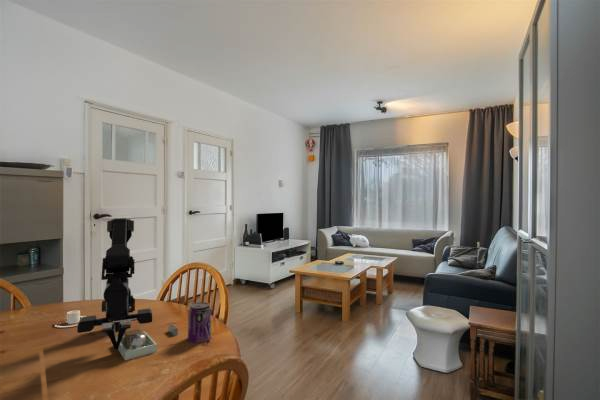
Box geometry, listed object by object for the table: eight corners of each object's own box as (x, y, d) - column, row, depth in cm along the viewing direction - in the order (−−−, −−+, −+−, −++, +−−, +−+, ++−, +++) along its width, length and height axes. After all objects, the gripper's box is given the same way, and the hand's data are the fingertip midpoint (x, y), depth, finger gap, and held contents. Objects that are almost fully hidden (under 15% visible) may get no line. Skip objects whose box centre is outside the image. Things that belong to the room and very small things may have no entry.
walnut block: (124, 344, 101) (124, 331, 101) (138, 340, 103) (138, 328, 104) (127, 348, 98) (127, 335, 98) (141, 344, 100) (141, 331, 100)
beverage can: (204, 347, 101) (204, 308, 102) (183, 345, 103) (184, 307, 103) (214, 338, 108) (214, 302, 109) (195, 336, 110) (195, 301, 110)
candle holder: (77, 329, 117) (77, 317, 117) (44, 329, 117) (45, 317, 117) (98, 318, 129) (98, 307, 129) (69, 317, 129) (69, 307, 129)
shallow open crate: (115, 347, 101) (115, 337, 101) (144, 340, 106) (144, 330, 106) (125, 365, 90) (125, 353, 90) (157, 356, 95) (157, 344, 95)
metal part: (131, 355, 93) (131, 339, 93) (129, 350, 96) (129, 335, 97) (146, 351, 96) (146, 336, 96) (143, 347, 99) (143, 332, 99)
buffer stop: (168, 334, 111) (168, 325, 111) (172, 333, 112) (172, 324, 112) (173, 339, 108) (173, 329, 108) (177, 337, 109) (177, 328, 109)
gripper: (150, 286, 106) (150, 334, 106) (83, 293, 98) (82, 345, 97) (152, 294, 97) (151, 347, 96) (77, 302, 88) (76, 360, 88)
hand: (116, 349), depth 95 cm, fingers closed
